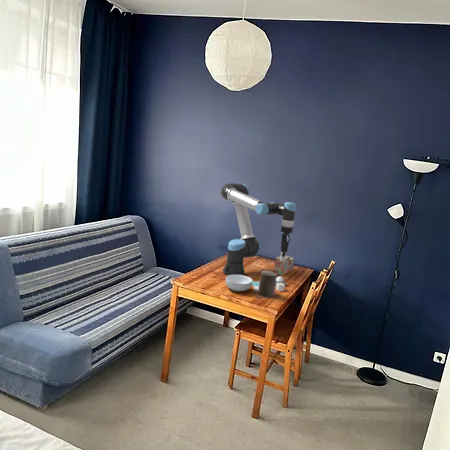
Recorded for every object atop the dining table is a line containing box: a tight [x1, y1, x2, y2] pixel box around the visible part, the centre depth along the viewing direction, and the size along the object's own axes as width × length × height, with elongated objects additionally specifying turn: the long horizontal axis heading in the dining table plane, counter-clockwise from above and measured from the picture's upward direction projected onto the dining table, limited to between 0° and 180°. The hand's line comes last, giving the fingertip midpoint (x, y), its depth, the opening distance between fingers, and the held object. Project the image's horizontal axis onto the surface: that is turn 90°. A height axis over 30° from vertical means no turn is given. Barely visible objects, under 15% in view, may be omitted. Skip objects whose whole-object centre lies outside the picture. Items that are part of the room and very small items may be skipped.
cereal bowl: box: [225, 275, 253, 293], centre depth 258 cm, size 17×17×7 cm
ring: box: [253, 288, 280, 300], centre depth 256 cm, size 13×13×1 cm
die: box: [275, 283, 286, 292], centre depth 266 cm, size 4×4×4 cm
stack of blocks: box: [273, 255, 295, 277], centre depth 306 cm, size 21×6×12 cm, turn 149°
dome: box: [276, 275, 285, 282], centre depth 277 cm, size 5×5×5 cm
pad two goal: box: [251, 280, 260, 287], centre depth 273 cm, size 9×8×1 cm
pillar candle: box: [257, 270, 278, 298], centre depth 254 cm, size 10×10×15 cm
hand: (282, 260), depth 275 cm, fingers closed
